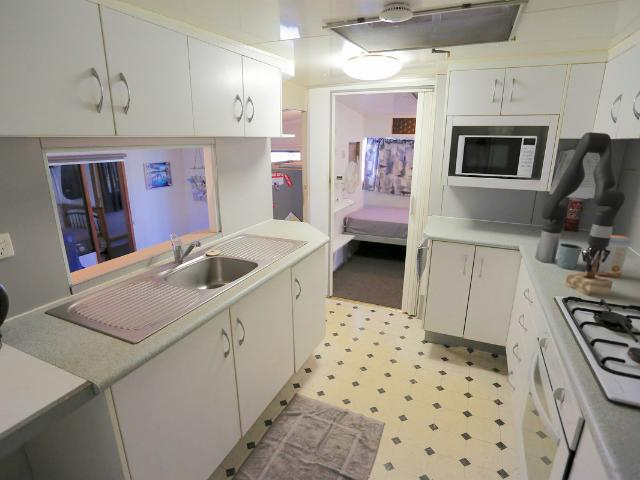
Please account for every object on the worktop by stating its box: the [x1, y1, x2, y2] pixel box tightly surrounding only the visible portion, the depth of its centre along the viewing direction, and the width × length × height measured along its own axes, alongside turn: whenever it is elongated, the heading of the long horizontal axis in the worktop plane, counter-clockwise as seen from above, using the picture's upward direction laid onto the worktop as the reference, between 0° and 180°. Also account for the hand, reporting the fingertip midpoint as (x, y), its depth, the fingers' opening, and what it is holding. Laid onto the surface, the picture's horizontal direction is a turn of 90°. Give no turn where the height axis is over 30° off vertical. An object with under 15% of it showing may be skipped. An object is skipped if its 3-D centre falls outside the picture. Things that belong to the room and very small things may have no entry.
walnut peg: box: [586, 255, 600, 279], centre depth 165 cm, size 3×3×11 cm
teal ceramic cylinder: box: [556, 243, 583, 270], centre depth 196 cm, size 10×10×12 cm
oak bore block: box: [564, 271, 614, 297], centre depth 167 cm, size 12×12×6 cm
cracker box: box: [584, 234, 631, 279], centre depth 184 cm, size 14×6×21 cm, turn 73°
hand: (591, 271), depth 165 cm, fingers closed on walnut peg, 3 cm apart
